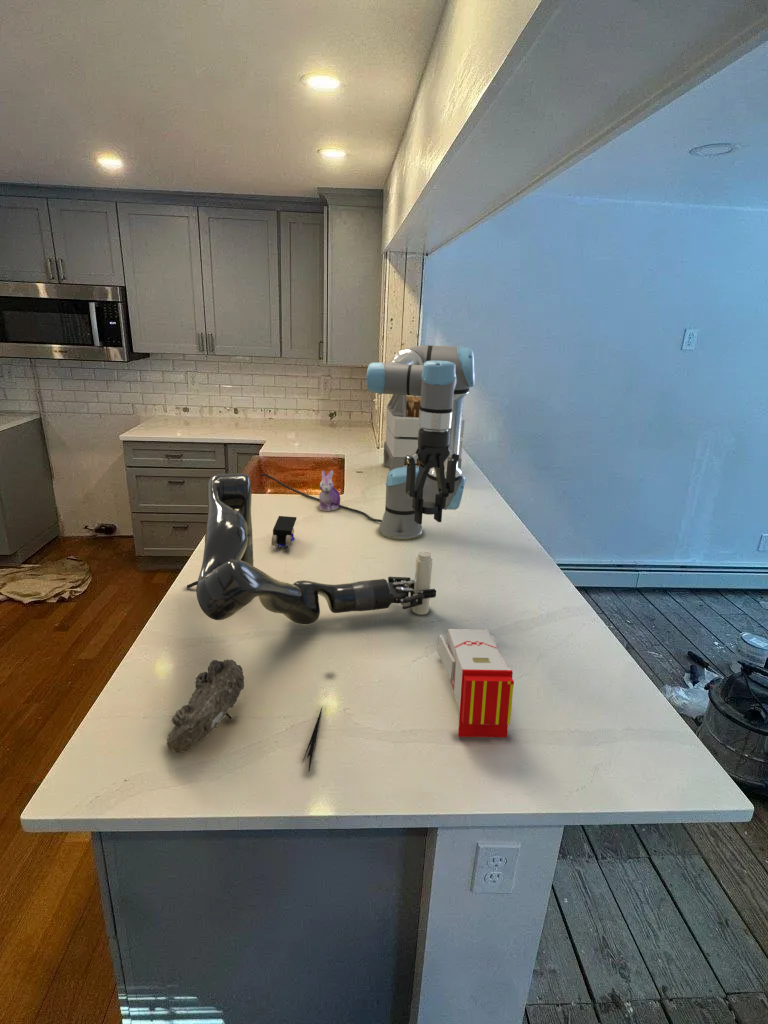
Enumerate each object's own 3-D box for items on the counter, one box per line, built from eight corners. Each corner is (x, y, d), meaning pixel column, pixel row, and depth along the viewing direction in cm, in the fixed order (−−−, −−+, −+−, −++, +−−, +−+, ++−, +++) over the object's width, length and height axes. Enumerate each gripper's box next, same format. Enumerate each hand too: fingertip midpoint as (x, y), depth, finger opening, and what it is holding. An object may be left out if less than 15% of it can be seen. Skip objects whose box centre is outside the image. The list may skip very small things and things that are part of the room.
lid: (415, 509, 141) (415, 503, 140) (430, 507, 143) (430, 500, 143) (426, 515, 137) (427, 509, 137) (442, 512, 140) (442, 506, 139)
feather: (331, 679, 122) (336, 673, 122) (307, 777, 96) (313, 769, 95) (324, 675, 122) (329, 669, 121) (298, 772, 95) (304, 764, 95)
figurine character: (291, 556, 181) (297, 534, 194) (291, 536, 177) (297, 514, 191) (270, 556, 181) (278, 533, 194) (269, 535, 177) (277, 513, 191)
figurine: (322, 513, 216) (323, 475, 211) (313, 504, 224) (313, 468, 219) (345, 510, 220) (346, 473, 215) (335, 502, 229) (335, 466, 223)
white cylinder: (430, 614, 148) (435, 556, 143) (414, 615, 147) (418, 557, 142) (426, 606, 152) (430, 550, 147) (410, 607, 151) (414, 550, 146)
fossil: (192, 660, 117) (244, 628, 112) (224, 691, 120) (276, 661, 115) (142, 746, 98) (202, 712, 93) (182, 779, 101) (242, 748, 96)
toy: (488, 613, 130) (523, 677, 101) (484, 667, 133) (517, 744, 104) (435, 612, 130) (455, 676, 101) (432, 666, 133) (451, 743, 103)
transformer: (382, 463, 289) (386, 382, 275) (445, 464, 293) (451, 384, 279) (390, 482, 257) (394, 392, 243) (460, 483, 261) (468, 394, 247)
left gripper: (361, 595, 151) (421, 588, 156) (376, 622, 138) (441, 614, 143) (362, 569, 149) (423, 564, 154) (377, 595, 136) (443, 588, 141)
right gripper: (459, 424, 140) (452, 513, 148) (393, 427, 133) (389, 519, 141) (475, 430, 133) (466, 523, 141) (406, 433, 127) (401, 530, 135)
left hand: (431, 588), depth 148 cm, fingers closed on white cylinder, 4 cm apart
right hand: (427, 521), depth 141 cm, fingers closed on lid, 5 cm apart
